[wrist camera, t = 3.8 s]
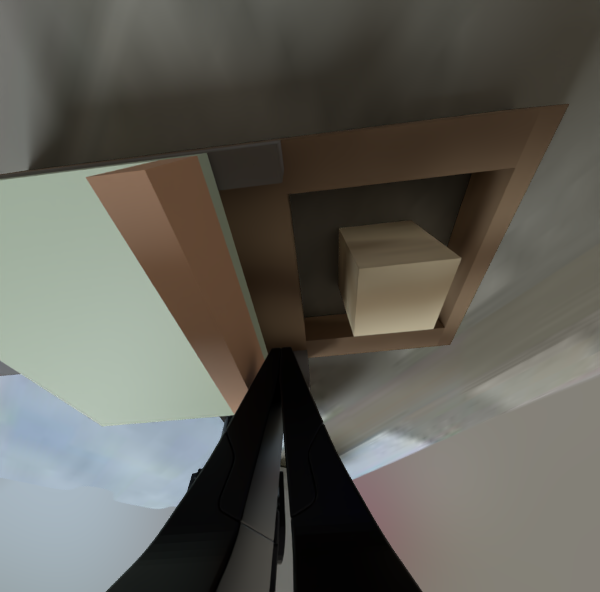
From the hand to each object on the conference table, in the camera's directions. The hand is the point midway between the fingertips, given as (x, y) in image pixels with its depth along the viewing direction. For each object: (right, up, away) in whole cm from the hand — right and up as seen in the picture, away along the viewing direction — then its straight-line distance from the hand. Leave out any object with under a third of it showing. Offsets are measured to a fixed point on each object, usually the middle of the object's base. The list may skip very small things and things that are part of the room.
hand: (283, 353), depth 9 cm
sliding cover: (-7, 0, +2) cm, 7 cm away
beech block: (+5, +5, +6) cm, 9 cm away
